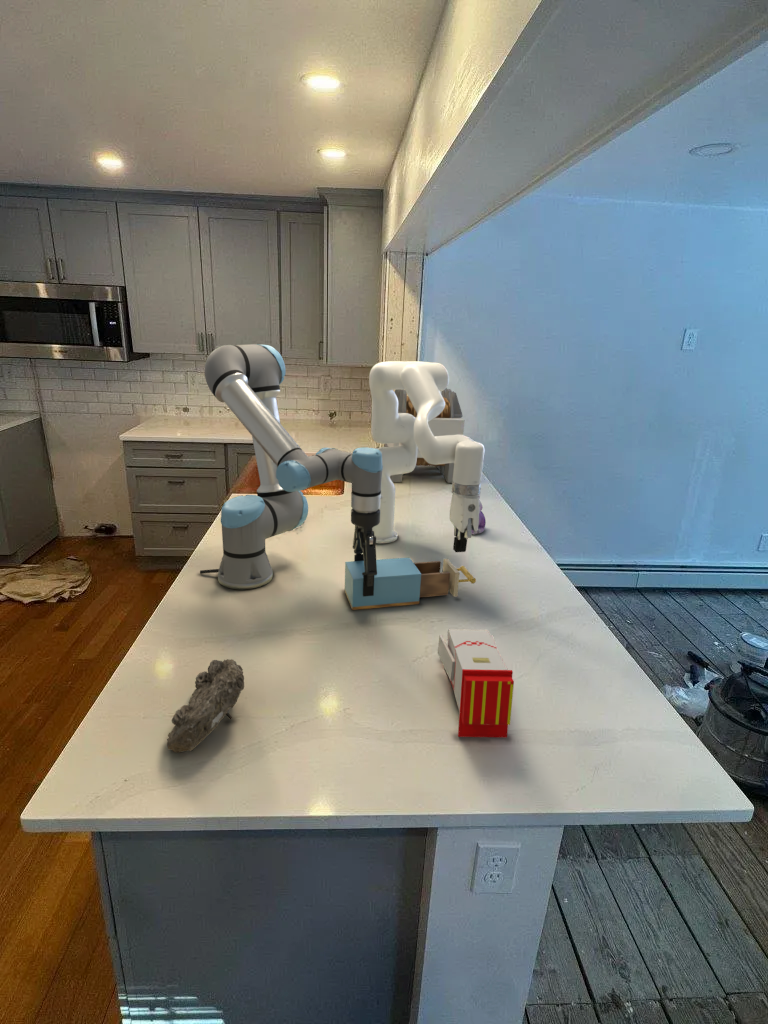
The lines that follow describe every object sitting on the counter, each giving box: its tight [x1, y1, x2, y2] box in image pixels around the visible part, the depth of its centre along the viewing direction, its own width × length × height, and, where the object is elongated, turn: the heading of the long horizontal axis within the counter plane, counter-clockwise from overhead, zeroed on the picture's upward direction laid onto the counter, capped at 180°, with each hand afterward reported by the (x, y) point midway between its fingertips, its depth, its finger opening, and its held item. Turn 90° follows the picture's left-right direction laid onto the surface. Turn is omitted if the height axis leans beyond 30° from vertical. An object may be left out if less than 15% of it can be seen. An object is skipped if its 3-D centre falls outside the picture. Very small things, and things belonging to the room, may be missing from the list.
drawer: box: [413, 558, 477, 598], centre depth 158 cm, size 23×9×7 cm, turn 105°
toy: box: [437, 628, 515, 738], centre depth 117 cm, size 12×13×30 cm
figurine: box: [471, 490, 487, 535], centre depth 203 cm, size 9×10×15 cm
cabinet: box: [344, 557, 421, 611], centre depth 154 cm, size 18×11×9 cm, turn 105°
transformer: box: [383, 387, 465, 484], centre depth 268 cm, size 34×33×41 cm
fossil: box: [166, 658, 245, 754], centre depth 106 cm, size 22×10×15 cm
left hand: (363, 585), depth 153 cm, fingers closed on cabinet, 11 cm apart
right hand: (459, 550), depth 157 cm, fingers closed
